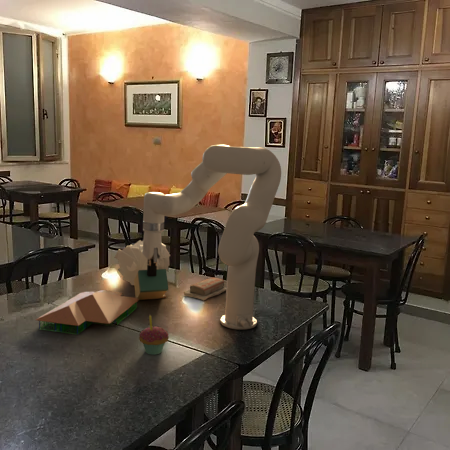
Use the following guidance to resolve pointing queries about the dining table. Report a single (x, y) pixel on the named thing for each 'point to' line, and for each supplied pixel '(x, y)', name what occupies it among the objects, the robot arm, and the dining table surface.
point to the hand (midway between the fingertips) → (151, 275)
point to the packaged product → (206, 288)
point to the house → (89, 310)
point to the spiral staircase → (138, 260)
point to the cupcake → (153, 338)
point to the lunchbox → (150, 285)
